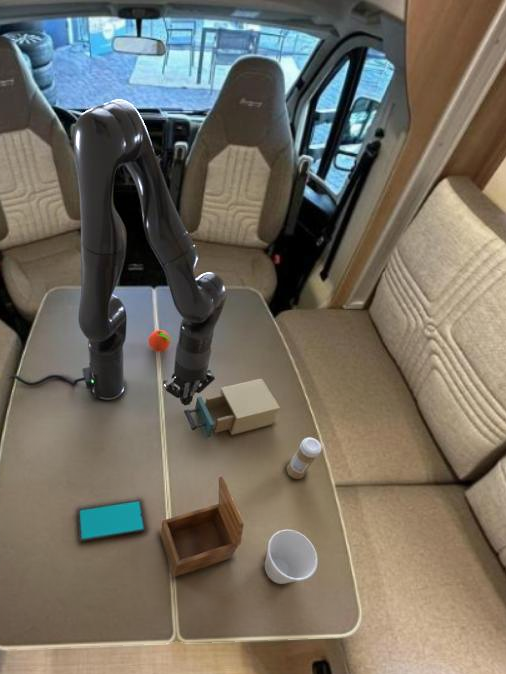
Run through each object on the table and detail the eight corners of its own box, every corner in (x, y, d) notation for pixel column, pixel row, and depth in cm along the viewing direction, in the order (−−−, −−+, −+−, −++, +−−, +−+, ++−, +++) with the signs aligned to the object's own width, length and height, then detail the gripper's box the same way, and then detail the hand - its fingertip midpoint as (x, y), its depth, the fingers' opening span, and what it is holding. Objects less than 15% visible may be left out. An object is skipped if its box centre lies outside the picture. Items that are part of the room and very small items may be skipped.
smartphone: (77, 509, 98) (139, 500, 100) (78, 511, 99) (139, 501, 101) (79, 541, 94) (144, 530, 96) (80, 542, 94) (144, 531, 96)
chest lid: (239, 524, 75) (243, 523, 75) (218, 477, 81) (222, 475, 81) (237, 545, 86) (240, 544, 86) (218, 502, 92) (221, 501, 92)
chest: (174, 577, 90) (177, 565, 84) (160, 534, 96) (162, 520, 90) (230, 558, 93) (238, 545, 87) (213, 517, 99) (219, 503, 92)
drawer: (192, 441, 111) (195, 429, 107) (180, 413, 117) (182, 400, 112) (245, 427, 115) (250, 414, 110) (231, 401, 120) (235, 388, 116)
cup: (250, 547, 95) (262, 531, 86) (292, 544, 96) (308, 527, 87) (262, 595, 88) (276, 582, 80) (307, 591, 89) (325, 578, 81)
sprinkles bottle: (307, 473, 107) (326, 447, 97) (295, 482, 106) (313, 457, 95) (294, 460, 110) (311, 433, 99) (282, 468, 108) (298, 442, 98)
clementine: (176, 347, 135) (178, 331, 130) (165, 360, 131) (166, 345, 126) (155, 337, 138) (156, 322, 132) (144, 350, 134) (144, 334, 128)
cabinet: (231, 435, 114) (237, 418, 108) (216, 404, 121) (220, 387, 114) (272, 424, 117) (280, 407, 111) (255, 395, 123) (261, 378, 117)
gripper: (213, 338, 95) (204, 385, 108) (158, 350, 92) (156, 397, 105) (227, 361, 90) (215, 408, 103) (170, 375, 88) (165, 420, 101)
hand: (185, 402), depth 104 cm, fingers closed
